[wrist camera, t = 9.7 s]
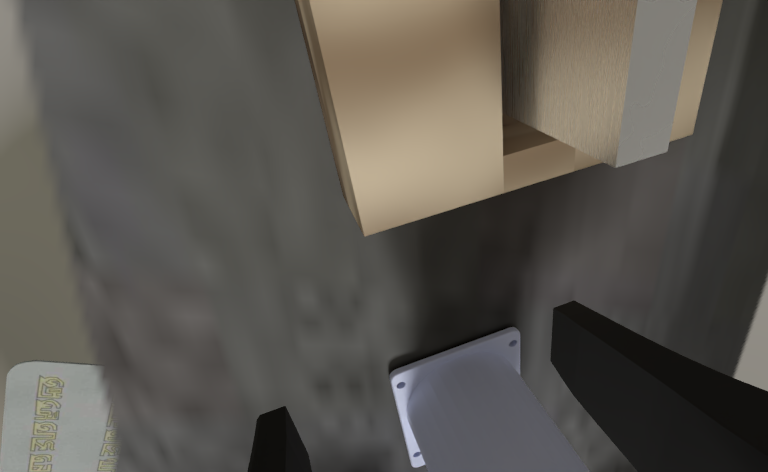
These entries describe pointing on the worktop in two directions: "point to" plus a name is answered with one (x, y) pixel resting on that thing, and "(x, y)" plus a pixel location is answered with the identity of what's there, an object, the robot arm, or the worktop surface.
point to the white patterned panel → (56, 419)
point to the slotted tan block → (440, 105)
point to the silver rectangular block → (596, 71)
